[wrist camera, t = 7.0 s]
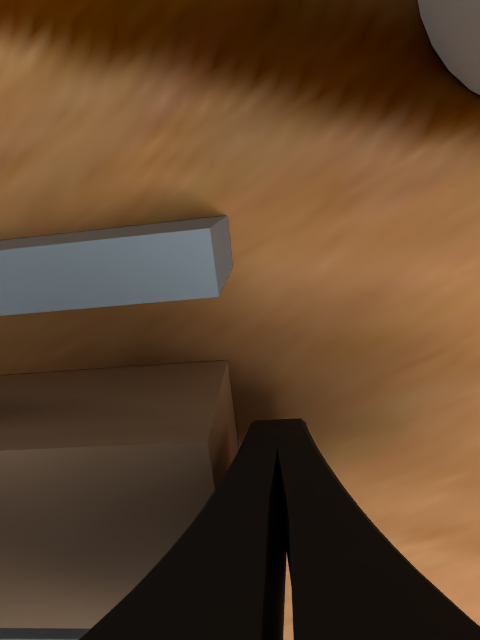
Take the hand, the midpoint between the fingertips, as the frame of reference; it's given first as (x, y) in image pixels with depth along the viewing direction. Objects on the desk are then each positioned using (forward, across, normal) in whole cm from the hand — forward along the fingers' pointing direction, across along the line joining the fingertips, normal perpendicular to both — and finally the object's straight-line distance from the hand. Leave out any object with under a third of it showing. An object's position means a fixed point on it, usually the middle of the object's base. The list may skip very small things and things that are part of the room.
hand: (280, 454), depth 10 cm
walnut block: (+1, +5, 0) cm, 5 cm away
